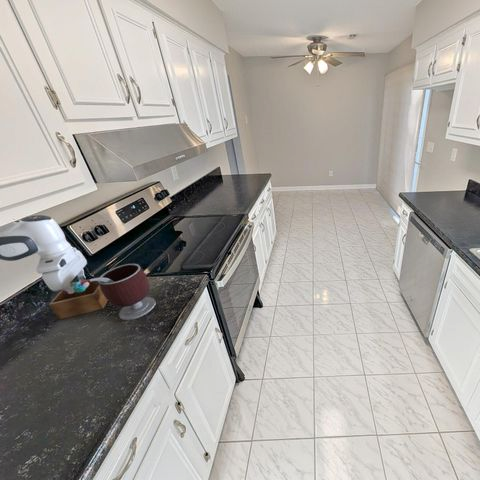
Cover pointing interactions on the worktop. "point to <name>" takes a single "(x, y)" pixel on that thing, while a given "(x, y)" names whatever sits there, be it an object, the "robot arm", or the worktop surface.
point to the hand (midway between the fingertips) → (77, 285)
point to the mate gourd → (127, 290)
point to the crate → (78, 301)
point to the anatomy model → (82, 287)
